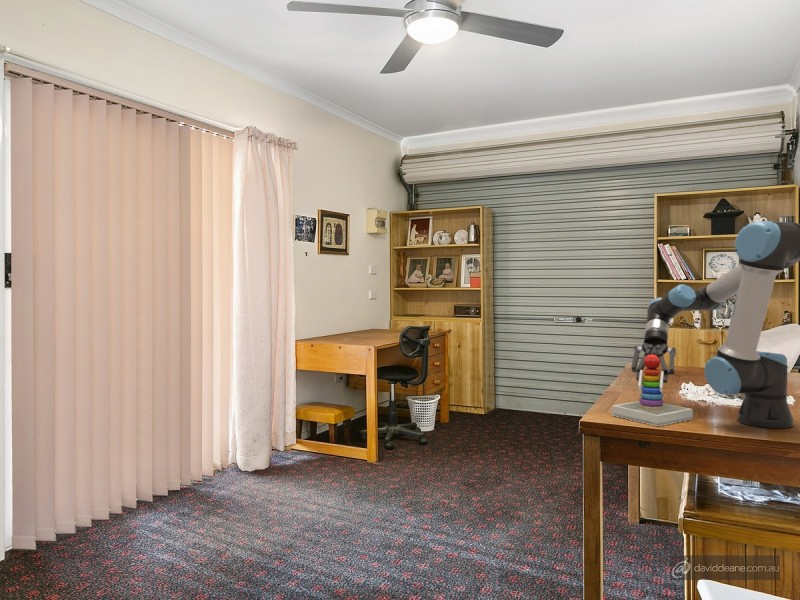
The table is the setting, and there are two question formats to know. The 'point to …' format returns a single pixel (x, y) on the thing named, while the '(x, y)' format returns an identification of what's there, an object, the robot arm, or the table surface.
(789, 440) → the table surface
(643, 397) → the stacking toy
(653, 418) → the tray
